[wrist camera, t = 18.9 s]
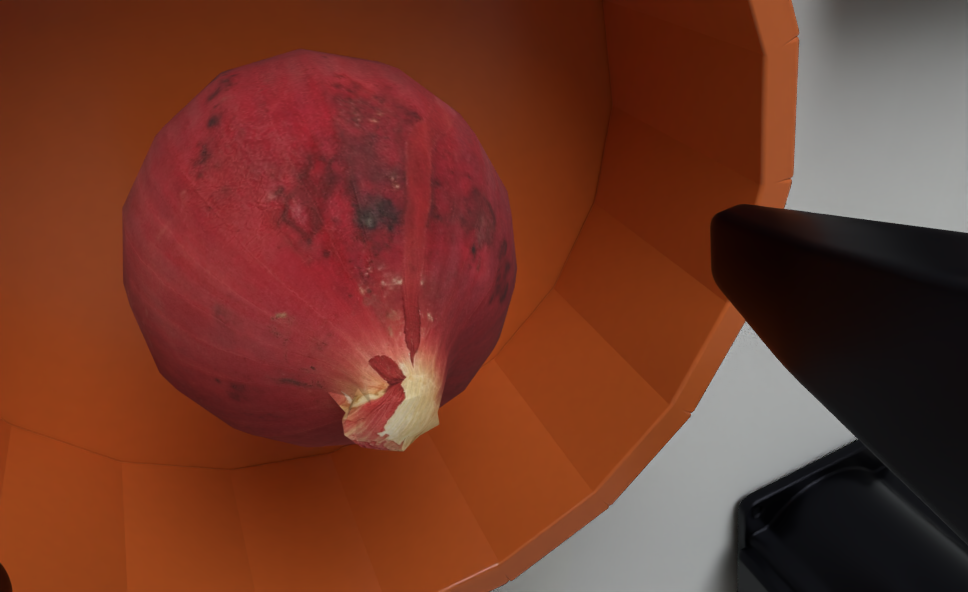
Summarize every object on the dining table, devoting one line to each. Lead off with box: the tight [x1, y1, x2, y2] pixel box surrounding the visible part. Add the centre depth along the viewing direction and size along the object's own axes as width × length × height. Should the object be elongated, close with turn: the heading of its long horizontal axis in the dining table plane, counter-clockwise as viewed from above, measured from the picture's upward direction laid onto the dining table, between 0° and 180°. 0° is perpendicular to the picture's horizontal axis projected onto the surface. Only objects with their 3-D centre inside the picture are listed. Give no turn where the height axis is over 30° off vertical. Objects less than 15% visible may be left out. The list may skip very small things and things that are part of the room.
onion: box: [122, 49, 517, 451], centre depth 12 cm, size 6×6×8 cm
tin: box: [0, 0, 799, 592], centre depth 14 cm, size 16×16×6 cm
